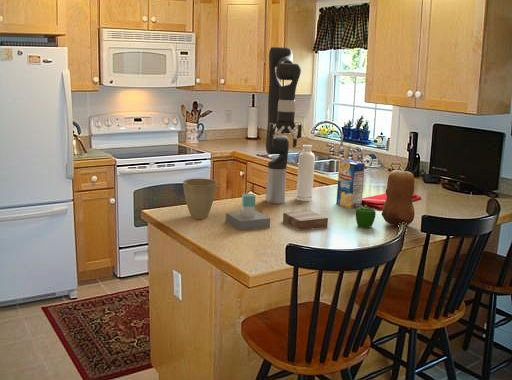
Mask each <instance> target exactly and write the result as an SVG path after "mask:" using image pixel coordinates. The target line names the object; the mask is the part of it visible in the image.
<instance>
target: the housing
mask: <svg viewBox="0 0 512 380" xmlns="http://www.w3.org/2000/svg"><path fill="white" fill-rule="evenodd" d="M255 210H256V194H255V193H241V211H242V213H241V214H242V216H243V217H254V216H255Z"/></svg>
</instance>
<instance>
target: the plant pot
mask: <svg viewBox="0 0 512 380" xmlns="http://www.w3.org/2000/svg"><path fill="white" fill-rule="evenodd" d="M217 184H218V181H216V180H215V179H210V178H201V177H199V178H195V177H194V178H188V179H184V180H183V181H182V187H183V193H184V198H185V202H186V206H187V209H188V212H189V215H190V217H191V218H192V219H194V220H195V219H197V220H203V219H206V218H208V217H209V215H210V212H211V209H212V207H213V203H214V199H215V196H216V190H217Z"/></svg>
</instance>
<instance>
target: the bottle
mask: <svg viewBox="0 0 512 380" xmlns="http://www.w3.org/2000/svg"><path fill="white" fill-rule="evenodd" d="M312 147H313V145H312V144H303V145H302V152H300V153H299V154H298V160H297V161H298V163H297V164H298V165H297V177H296V178H297V179H296V180H297V181H296V198H295V200H297V201H300V200H301V201H300V202H310V201H313V190H314V177H315V176H314V174H315V162H316V161H315V159H316V158H315V157H316V156H315V154H314V153H313V151H312ZM301 197H302V198H301Z"/></svg>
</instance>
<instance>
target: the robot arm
mask: <svg viewBox="0 0 512 380" xmlns="http://www.w3.org/2000/svg"><path fill="white" fill-rule="evenodd" d="M293 56H294V55H293V51H292V49H291V48H290V47H284V46H283V47H282V46H281V47H279V46H277V47H276V46H272V47H270V49H269V52H268V73H269V74H268V75H269V77H268V79H269V80H268V95H267V127H266V137H265V138H266V139H265V150H266V154H267V155H278V157H276V158H275V159H272V160H270V161H268V163H267V182H266V190H265V202H267V203H269V204H284V203H286V202H285V201H286V200H285V199H286V184H287V183H286V182H287V165H288V158H289V157H288V156H289V147H290V144H289V143H290V141H289V140H290V139H289V138H288V136H287V135H289V134H290V135H291V136H292V138H293V139H292V148H294V149H295V148H296V147H297V144H298V142H297V141H298V139H300V138H302V124H301V123H295V117H296V116H295V115H296V92H297V85H298V82H299V79H300V76H301V74H302V69H301V66H300V65H299V64H298V63H294V57H293ZM281 81H291V82H290V83H289V84H286V85H283V84H282V83H281ZM295 128H296V129H297V134H296V133H295V132H294V129H295ZM276 129H277V130H276ZM280 134H285V135H280Z"/></svg>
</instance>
